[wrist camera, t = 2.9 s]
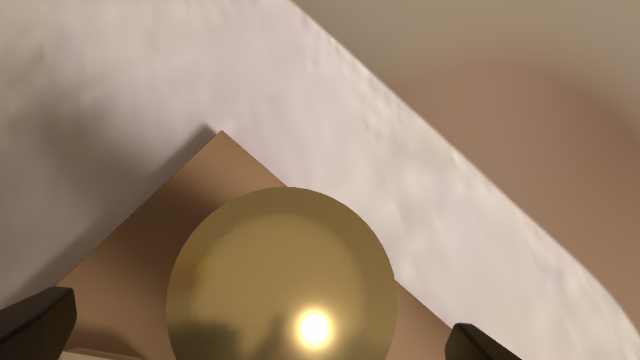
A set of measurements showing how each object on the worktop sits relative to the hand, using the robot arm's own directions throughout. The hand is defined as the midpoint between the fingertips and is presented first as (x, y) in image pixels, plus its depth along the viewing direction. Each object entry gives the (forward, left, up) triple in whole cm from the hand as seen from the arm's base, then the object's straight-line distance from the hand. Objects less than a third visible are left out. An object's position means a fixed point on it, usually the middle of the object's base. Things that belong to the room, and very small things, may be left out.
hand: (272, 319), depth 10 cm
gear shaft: (0, 0, -8) cm, 8 cm away
